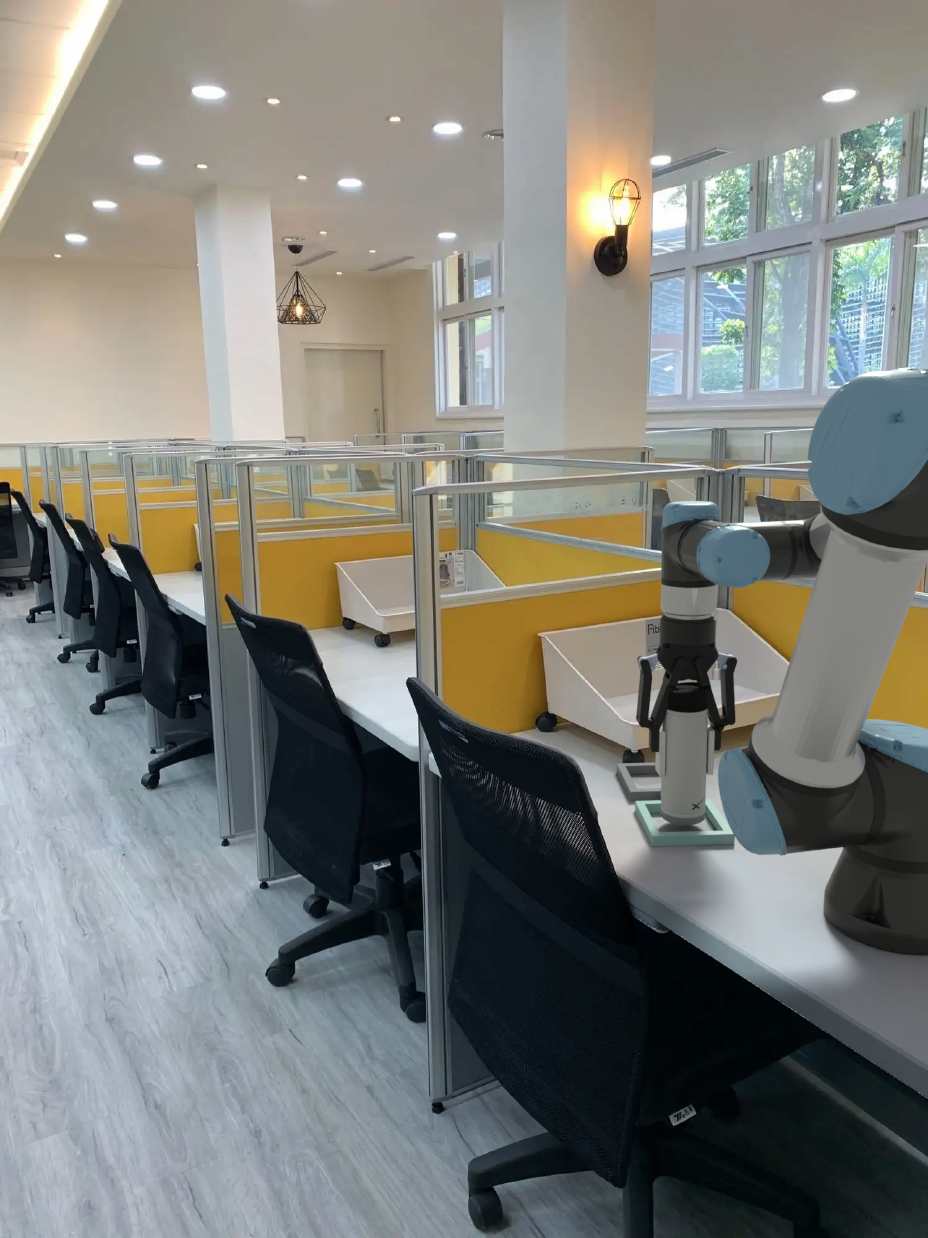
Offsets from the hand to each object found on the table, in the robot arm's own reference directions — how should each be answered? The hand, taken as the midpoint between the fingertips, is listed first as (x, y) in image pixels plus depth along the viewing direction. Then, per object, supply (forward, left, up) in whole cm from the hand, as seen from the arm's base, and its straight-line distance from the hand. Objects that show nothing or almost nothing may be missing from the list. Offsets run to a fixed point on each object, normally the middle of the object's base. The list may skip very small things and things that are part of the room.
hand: (684, 771), depth 133 cm
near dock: (0, 0, -8) cm, 8 cm away
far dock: (+14, 0, -8) cm, 17 cm away
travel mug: (0, 0, -7) cm, 7 cm away
